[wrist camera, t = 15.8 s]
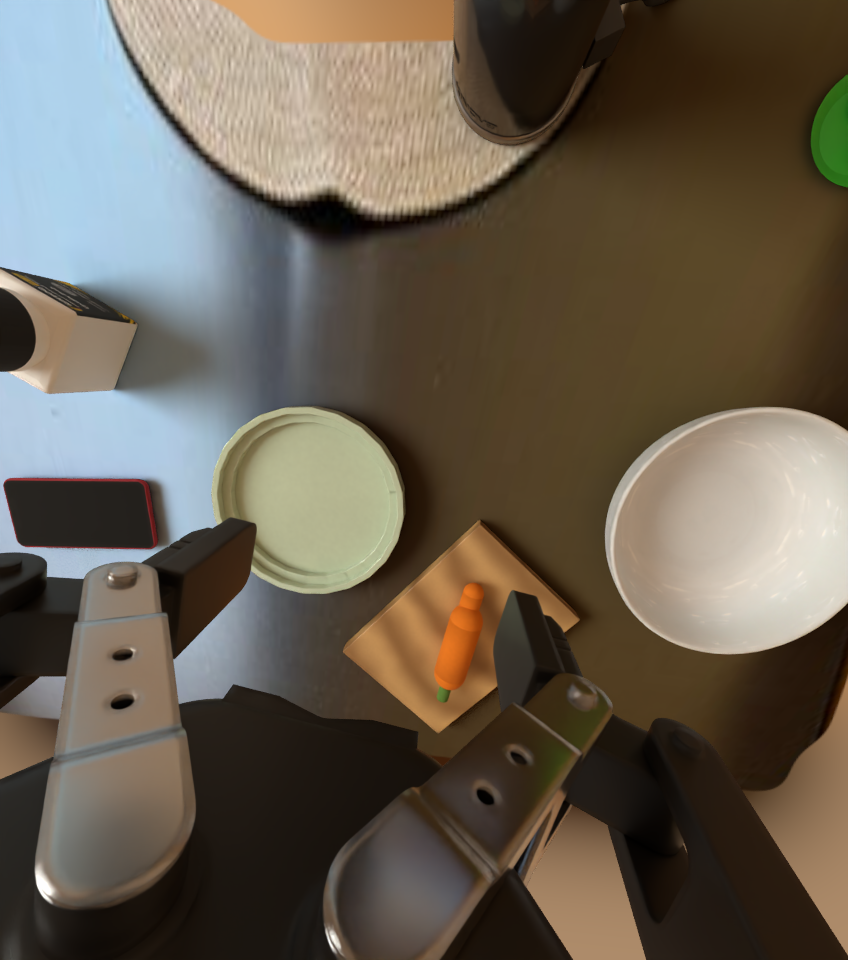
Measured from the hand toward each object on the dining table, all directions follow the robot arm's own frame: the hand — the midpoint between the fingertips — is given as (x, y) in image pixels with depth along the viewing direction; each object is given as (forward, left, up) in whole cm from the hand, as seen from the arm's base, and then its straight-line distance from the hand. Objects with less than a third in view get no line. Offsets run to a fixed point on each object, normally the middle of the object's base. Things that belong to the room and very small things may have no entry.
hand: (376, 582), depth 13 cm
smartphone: (+30, -20, -28) cm, 46 cm away
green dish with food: (-40, +7, -28) cm, 49 cm away
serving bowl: (-13, +23, -28) cm, 39 cm away
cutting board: (+12, +16, -28) cm, 35 cm away
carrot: (+12, +16, -27) cm, 33 cm away
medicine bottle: (+15, -29, -28) cm, 43 cm away
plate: (+12, -4, -28) cm, 31 cm away
